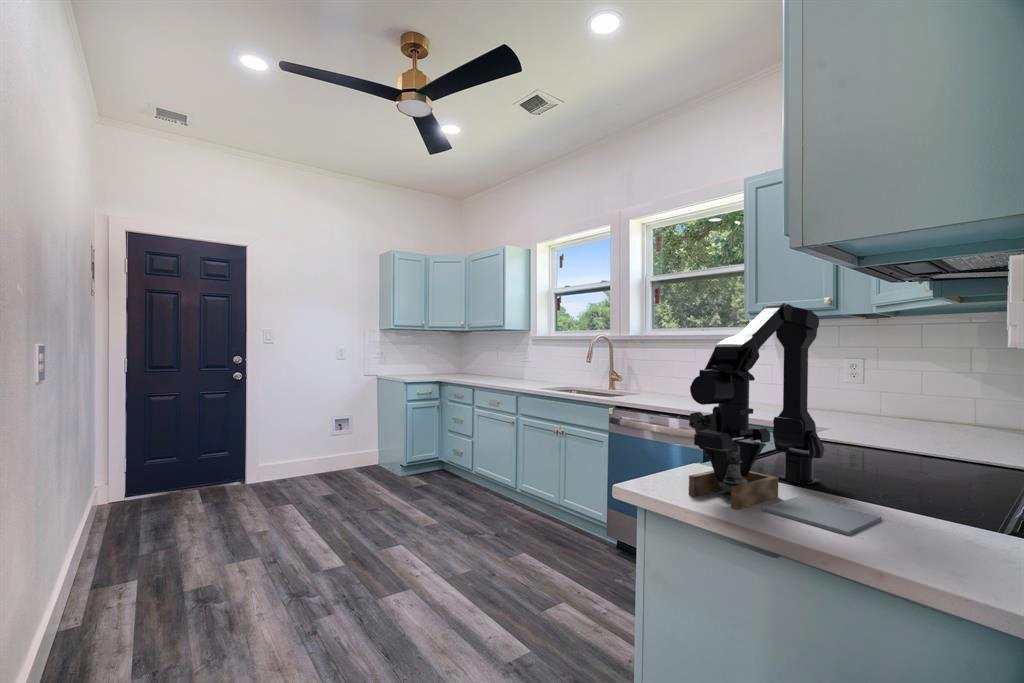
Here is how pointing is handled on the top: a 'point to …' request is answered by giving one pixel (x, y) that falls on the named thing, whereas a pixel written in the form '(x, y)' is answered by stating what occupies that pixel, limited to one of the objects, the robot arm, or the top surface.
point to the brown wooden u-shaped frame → (737, 488)
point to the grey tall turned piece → (732, 473)
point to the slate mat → (823, 514)
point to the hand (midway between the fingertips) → (732, 478)
